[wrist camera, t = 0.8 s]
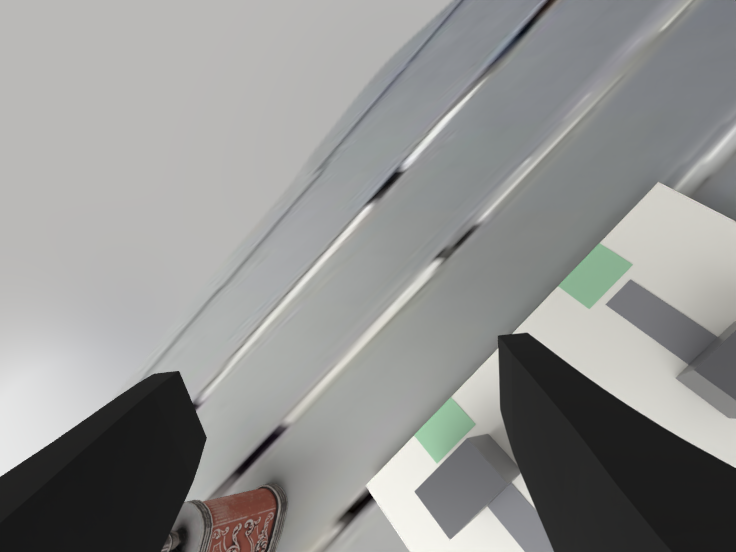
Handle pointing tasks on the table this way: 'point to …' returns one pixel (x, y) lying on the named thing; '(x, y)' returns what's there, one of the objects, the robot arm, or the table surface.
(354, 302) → the table surface
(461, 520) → the on handle
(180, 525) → the lighter
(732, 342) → the handle
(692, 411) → the switch plate
